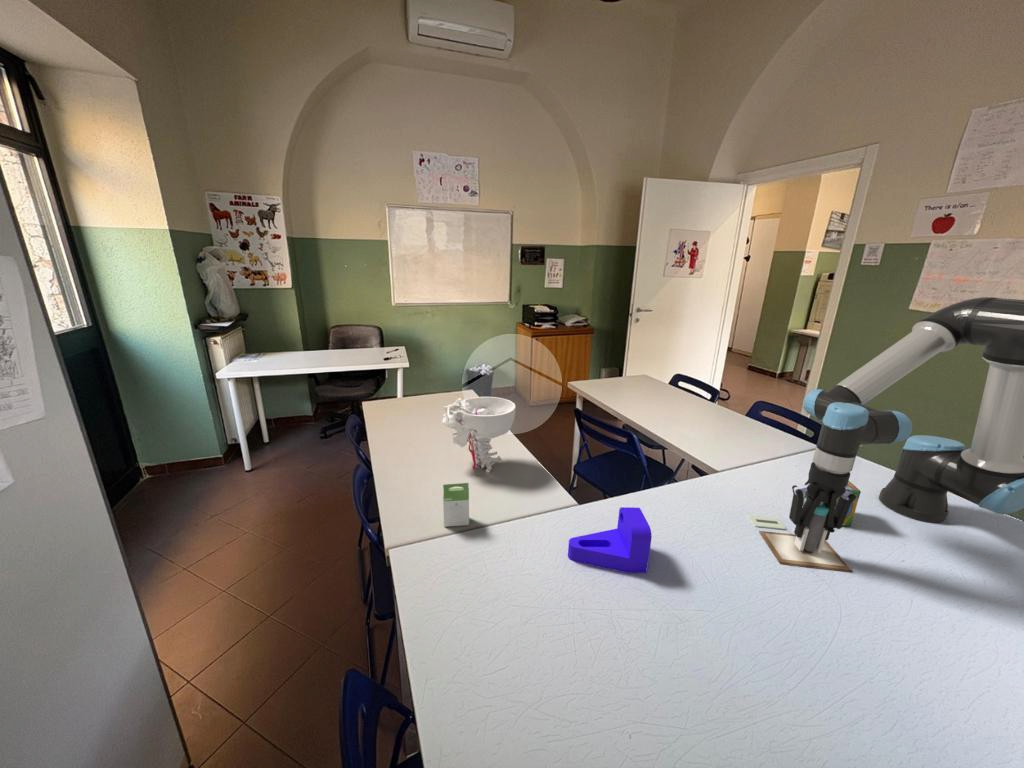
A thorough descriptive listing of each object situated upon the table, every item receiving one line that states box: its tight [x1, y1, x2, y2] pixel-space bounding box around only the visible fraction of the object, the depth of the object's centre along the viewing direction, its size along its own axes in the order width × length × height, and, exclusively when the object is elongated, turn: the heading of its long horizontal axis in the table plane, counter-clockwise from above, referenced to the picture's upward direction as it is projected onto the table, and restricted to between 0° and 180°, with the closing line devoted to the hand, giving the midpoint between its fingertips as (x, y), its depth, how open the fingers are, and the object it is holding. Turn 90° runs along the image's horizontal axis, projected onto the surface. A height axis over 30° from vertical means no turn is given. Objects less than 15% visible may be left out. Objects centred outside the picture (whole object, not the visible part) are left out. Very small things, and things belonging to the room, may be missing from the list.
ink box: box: [442, 482, 470, 528], centre depth 111 cm, size 7×4×13 cm, turn 97°
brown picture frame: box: [758, 530, 853, 573], centre depth 104 cm, size 16×12×1 cm
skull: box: [441, 396, 516, 473], centre depth 139 cm, size 25×19×23 cm
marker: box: [803, 503, 829, 553], centre depth 101 cm, size 4×4×13 cm
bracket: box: [567, 506, 652, 574], centre depth 99 cm, size 18×11×12 cm, turn 91°
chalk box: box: [803, 481, 861, 527], centre depth 117 cm, size 9×9×15 cm
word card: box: [747, 514, 787, 531], centre depth 115 cm, size 8×5×1 cm, turn 81°
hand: (807, 547), depth 103 cm, fingers closed on marker, 3 cm apart
